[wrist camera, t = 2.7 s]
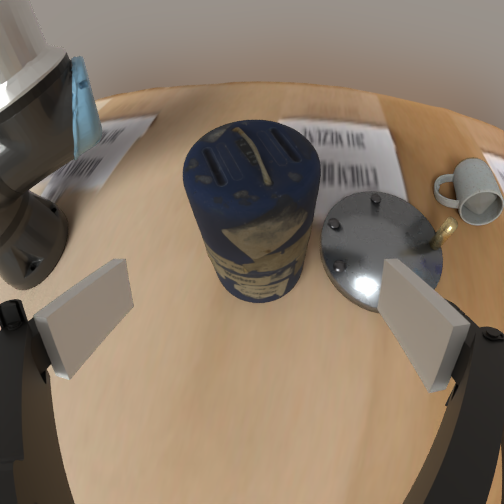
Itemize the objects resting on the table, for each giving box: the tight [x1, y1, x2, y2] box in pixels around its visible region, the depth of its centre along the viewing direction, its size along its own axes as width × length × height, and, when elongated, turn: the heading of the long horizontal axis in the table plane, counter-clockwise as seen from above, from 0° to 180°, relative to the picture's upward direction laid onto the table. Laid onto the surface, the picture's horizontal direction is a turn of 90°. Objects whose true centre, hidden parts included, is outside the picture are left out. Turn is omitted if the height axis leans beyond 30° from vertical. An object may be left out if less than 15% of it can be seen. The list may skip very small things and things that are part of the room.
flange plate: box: [320, 192, 458, 313], centre depth 30 cm, size 16×16×6 cm
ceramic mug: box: [434, 158, 504, 225], centre depth 33 cm, size 11×8×8 cm
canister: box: [183, 120, 321, 303], centre depth 25 cm, size 10×10×18 cm
